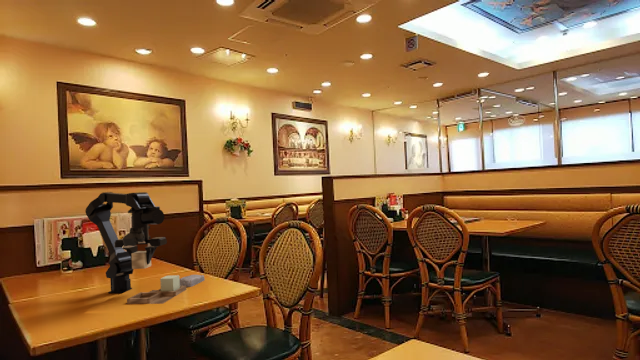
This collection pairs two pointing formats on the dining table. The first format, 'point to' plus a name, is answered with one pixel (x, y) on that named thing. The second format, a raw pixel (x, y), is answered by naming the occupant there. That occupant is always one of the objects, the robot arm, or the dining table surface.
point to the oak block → (139, 260)
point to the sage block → (170, 283)
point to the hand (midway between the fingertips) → (141, 264)
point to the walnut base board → (154, 296)
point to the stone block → (191, 280)
